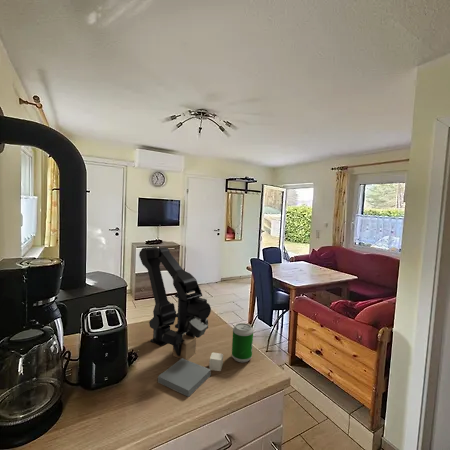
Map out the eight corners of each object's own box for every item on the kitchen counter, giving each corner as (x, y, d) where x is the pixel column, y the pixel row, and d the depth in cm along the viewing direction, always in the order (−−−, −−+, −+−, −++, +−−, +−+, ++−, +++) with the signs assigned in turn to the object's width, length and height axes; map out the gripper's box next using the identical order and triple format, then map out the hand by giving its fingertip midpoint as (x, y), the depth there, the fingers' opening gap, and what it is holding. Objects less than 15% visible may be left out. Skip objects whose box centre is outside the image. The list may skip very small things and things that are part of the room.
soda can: (250, 365, 95) (252, 332, 95) (229, 362, 97) (231, 329, 96) (252, 354, 103) (254, 323, 102) (233, 351, 104) (234, 321, 103)
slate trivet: (157, 382, 84) (157, 376, 84) (182, 363, 95) (182, 358, 94) (188, 397, 78) (188, 390, 78) (210, 375, 89) (211, 369, 89)
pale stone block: (209, 369, 92) (209, 358, 92) (211, 363, 96) (212, 352, 96) (220, 371, 91) (221, 360, 91) (222, 364, 95) (223, 353, 95)
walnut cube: (172, 355, 99) (173, 340, 99) (182, 348, 105) (183, 333, 104) (185, 360, 96) (186, 344, 96) (195, 353, 102) (196, 337, 101)
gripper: (187, 325, 87) (185, 372, 88) (217, 308, 103) (215, 347, 105) (161, 317, 93) (160, 361, 94) (193, 302, 109) (192, 339, 110)
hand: (184, 351), depth 100 cm, fingers closed on walnut cube, 6 cm apart
